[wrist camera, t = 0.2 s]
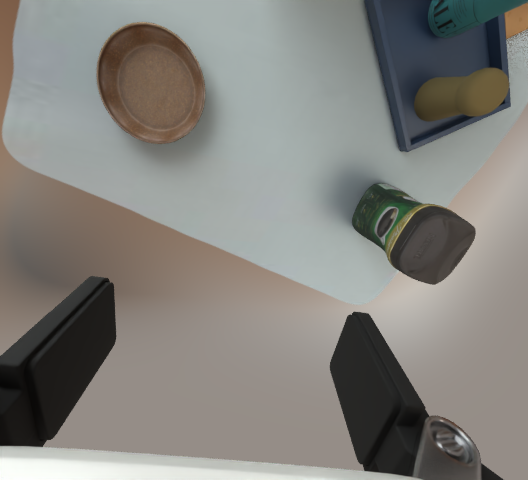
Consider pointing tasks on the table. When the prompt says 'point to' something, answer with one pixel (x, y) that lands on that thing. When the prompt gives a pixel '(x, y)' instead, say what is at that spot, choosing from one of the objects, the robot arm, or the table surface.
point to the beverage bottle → (465, 14)
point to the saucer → (150, 83)
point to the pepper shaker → (461, 95)
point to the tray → (429, 63)
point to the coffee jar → (413, 233)
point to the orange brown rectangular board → (516, 20)
